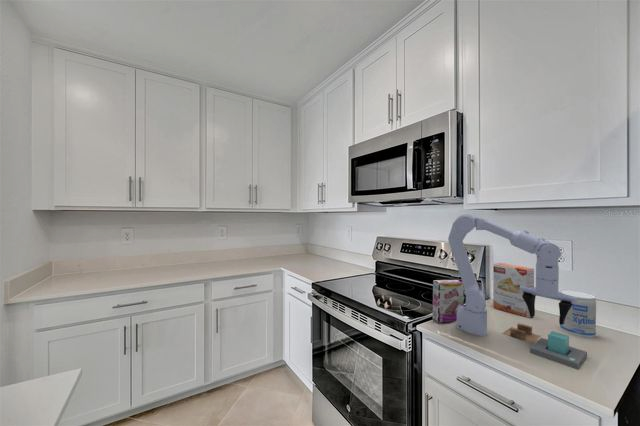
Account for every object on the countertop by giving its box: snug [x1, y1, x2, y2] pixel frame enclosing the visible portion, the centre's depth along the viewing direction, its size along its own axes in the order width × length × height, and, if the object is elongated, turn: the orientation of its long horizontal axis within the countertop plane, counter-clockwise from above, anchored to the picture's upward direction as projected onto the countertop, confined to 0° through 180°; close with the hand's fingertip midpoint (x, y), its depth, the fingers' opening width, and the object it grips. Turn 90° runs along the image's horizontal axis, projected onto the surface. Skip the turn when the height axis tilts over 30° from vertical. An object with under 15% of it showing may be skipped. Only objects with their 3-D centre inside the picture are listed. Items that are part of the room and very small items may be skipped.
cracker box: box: [492, 262, 535, 319], centre depth 119 cm, size 14×6×21 cm, turn 25°
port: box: [529, 337, 588, 370], centre depth 82 cm, size 11×11×3 cm
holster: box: [501, 322, 542, 345], centre depth 95 cm, size 9×9×4 cm
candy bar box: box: [432, 279, 465, 324], centre depth 110 cm, size 11×5×16 cm, turn 97°
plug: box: [547, 330, 570, 356], centre depth 82 cm, size 4×4×7 cm
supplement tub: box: [559, 290, 597, 338], centre depth 98 cm, size 10×10×15 cm
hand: (546, 319), depth 88 cm, fingers open, 7 cm apart
